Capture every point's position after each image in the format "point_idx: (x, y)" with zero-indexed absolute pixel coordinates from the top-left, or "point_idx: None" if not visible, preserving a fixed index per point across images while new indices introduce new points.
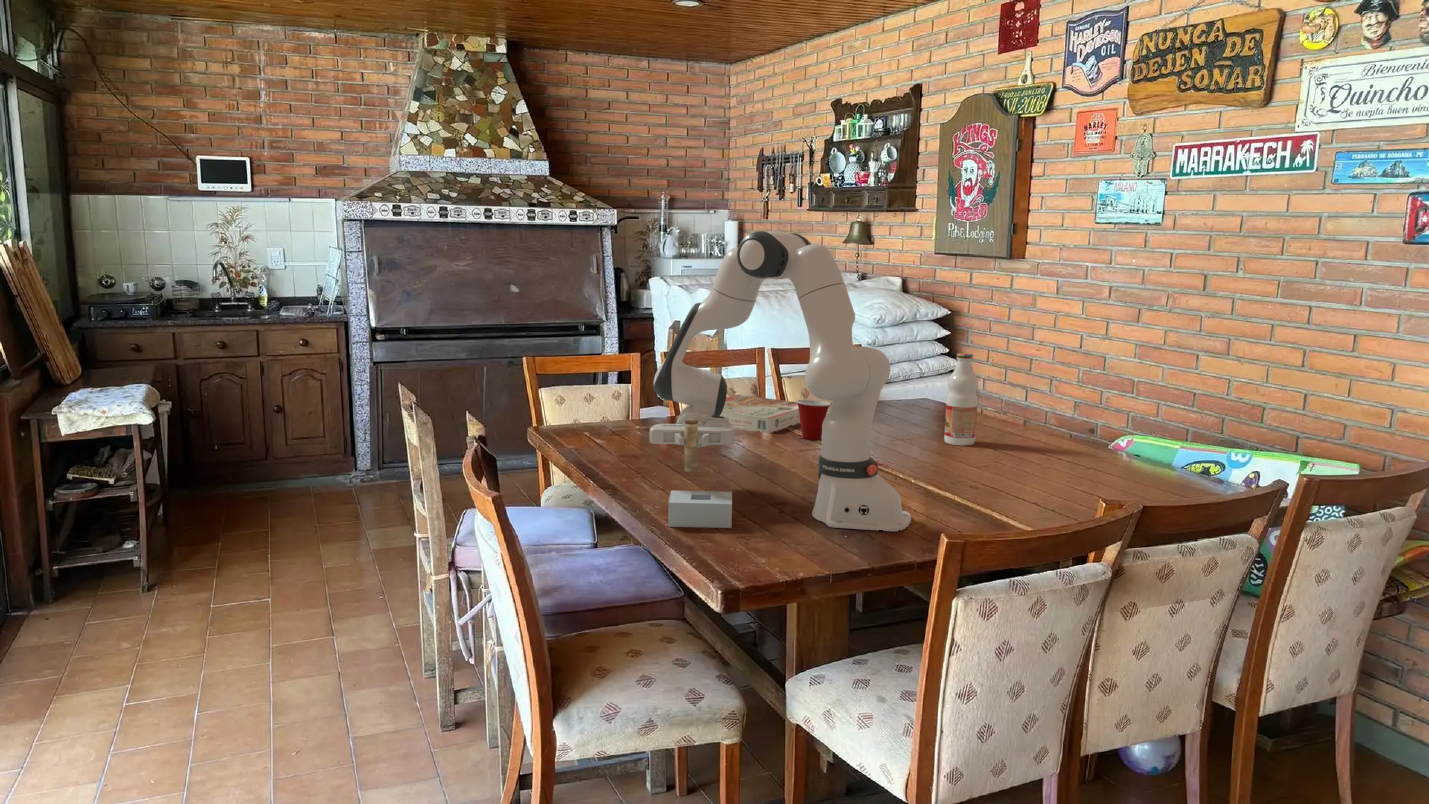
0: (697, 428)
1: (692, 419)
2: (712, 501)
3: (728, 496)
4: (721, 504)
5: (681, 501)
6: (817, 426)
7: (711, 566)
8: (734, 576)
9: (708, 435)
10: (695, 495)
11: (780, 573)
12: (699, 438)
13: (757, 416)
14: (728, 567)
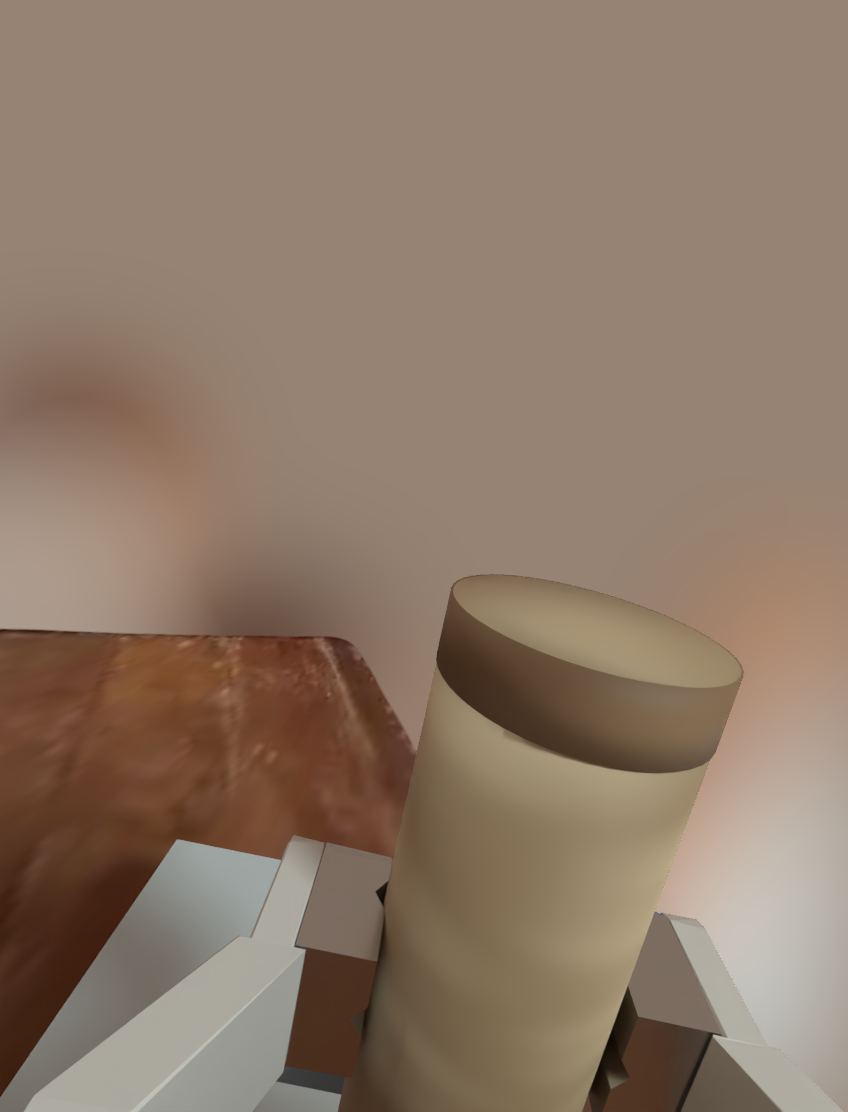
0: (422, 735)
1: (566, 620)
2: (266, 892)
3: (101, 991)
4: (231, 852)
5: None
6: None
7: (353, 694)
8: (319, 661)
9: (59, 1090)
10: (335, 1099)
11: (224, 652)
12: (358, 853)
13: None
14: (318, 685)
